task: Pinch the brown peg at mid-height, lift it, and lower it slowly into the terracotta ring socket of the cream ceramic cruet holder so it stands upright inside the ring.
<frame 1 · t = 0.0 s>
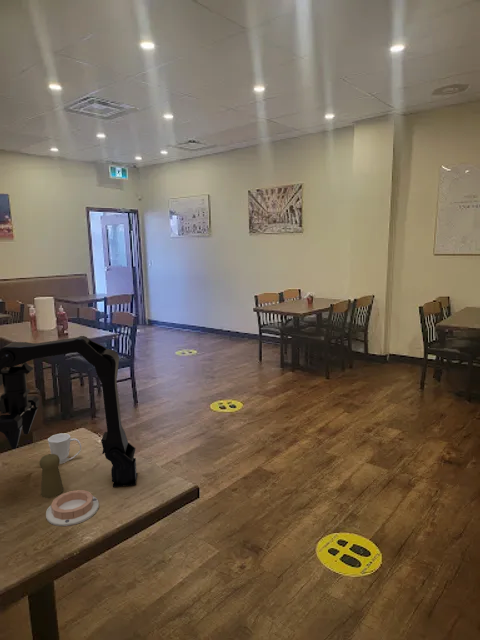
hand: (20, 441, 123), 15 cm above the table, fingers open, 9 cm apart
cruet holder: (73, 510, 115), on the table
cup: (65, 460, 142), on the table
brown peg: (52, 492, 123), on the table
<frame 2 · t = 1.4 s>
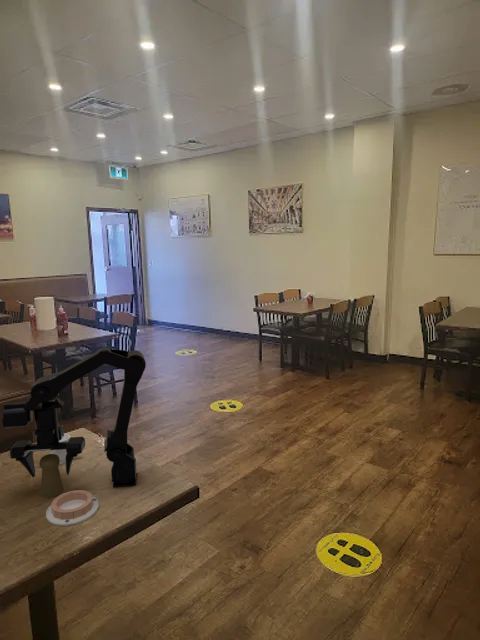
hand: (51, 475, 123), 5 cm above the table, fingers open, 9 cm apart
nothing on the table moved.
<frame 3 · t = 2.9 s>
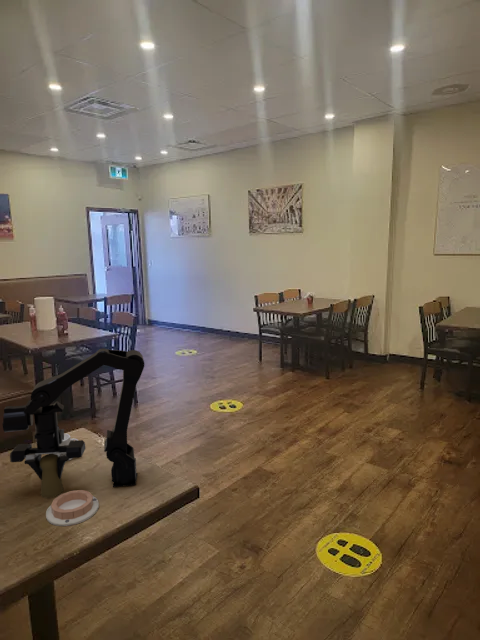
hand: (51, 478, 123), 4 cm above the table, fingers closed on brown peg, 4 cm apart
brown peg: (52, 492, 123), on the table, touching gripper
everything else where it was.
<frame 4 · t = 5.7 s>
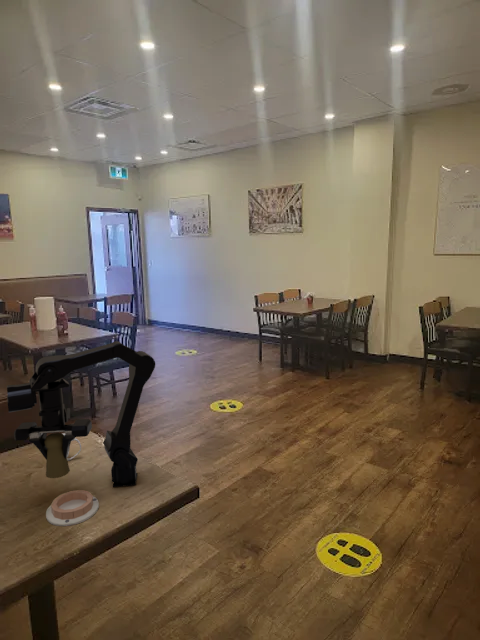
hand: (56, 458, 118), 12 cm above the table, fingers closed on brown peg, 4 cm apart
brown peg: (57, 473, 119), point 8 cm above the table, touching gripper
everything else where it was.
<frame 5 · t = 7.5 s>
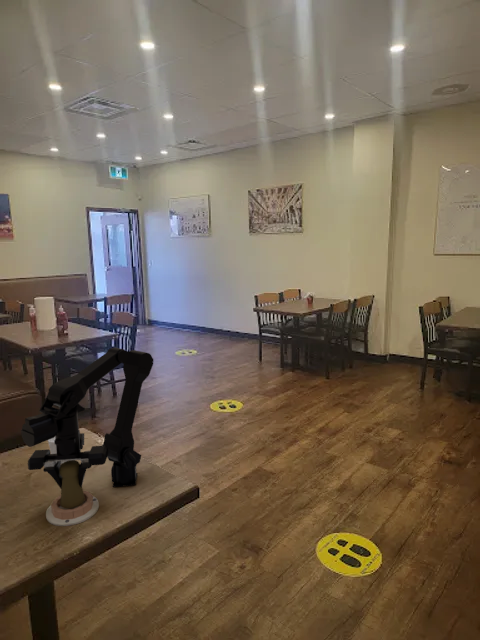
hand: (71, 487, 114), 7 cm above the table, fingers closed on brown peg, 4 cm apart
brown peg: (72, 502, 114), point 2 cm above the table, touching gripper
everything else where it was.
when the fingers open (6 cm above the table, at t = 8.8 s): brown peg stays where it is, resting on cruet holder.
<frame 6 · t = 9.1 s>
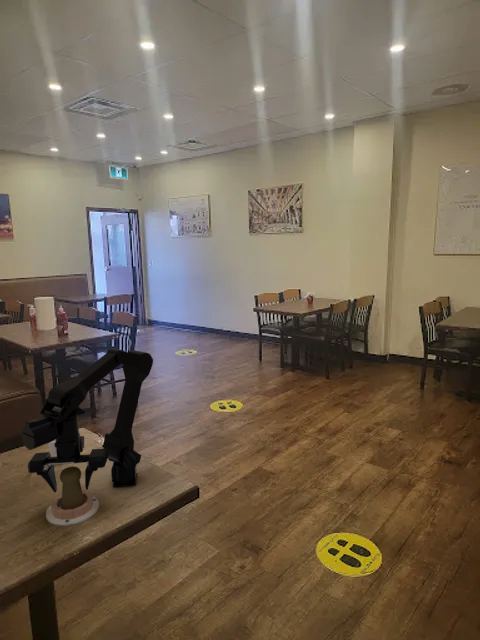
hand: (71, 490, 114), 6 cm above the table, fingers open, 8 cm apart
brown peg: (73, 508, 115), point 1 cm above the table, touching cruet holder
everything else where it was.
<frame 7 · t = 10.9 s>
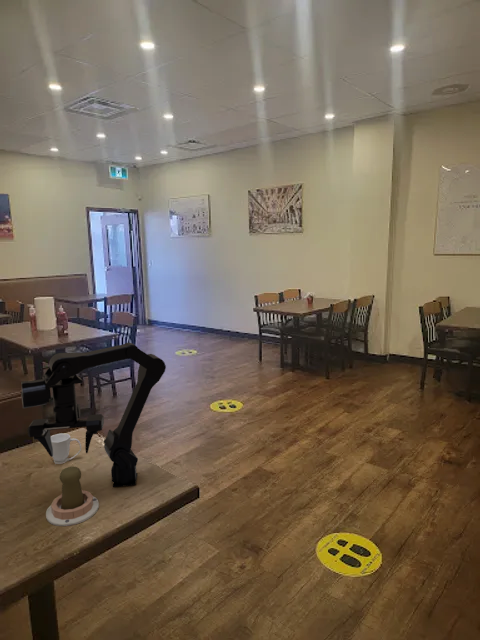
hand: (69, 454, 119), 12 cm above the table, fingers open, 9 cm apart
nothing on the table moved.
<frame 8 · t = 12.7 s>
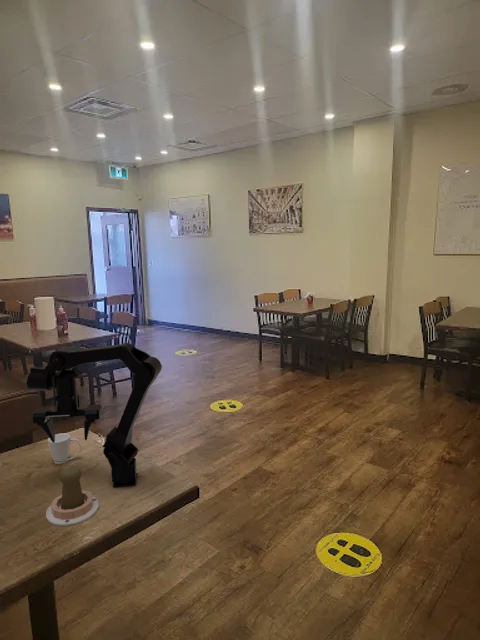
hand: (70, 440, 129), 12 cm above the table, fingers open, 9 cm apart
nothing on the table moved.
at the end: brown peg 0.1 cm from the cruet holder (horizontally); brown peg point 0.6 cm above the table; brown peg tilted 0° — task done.
